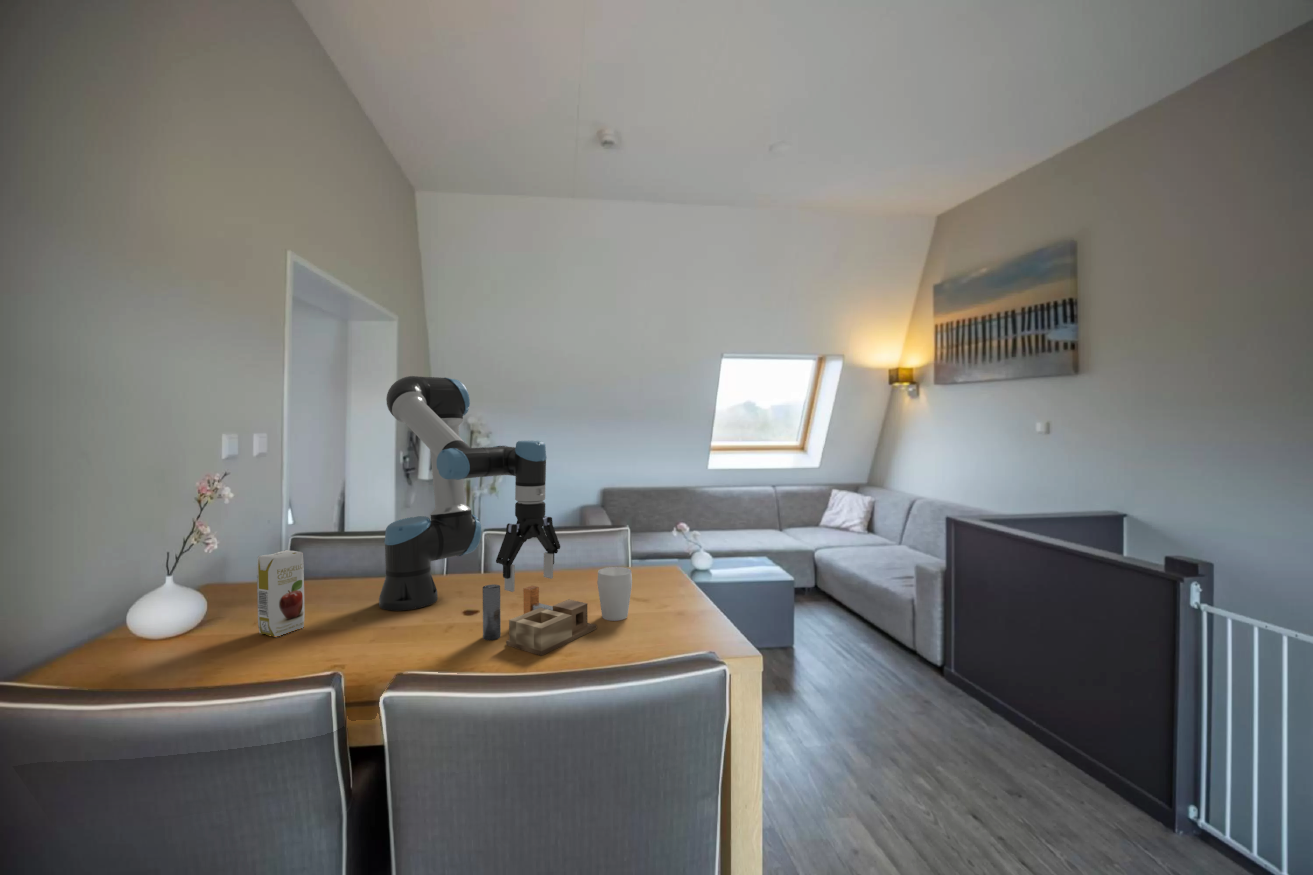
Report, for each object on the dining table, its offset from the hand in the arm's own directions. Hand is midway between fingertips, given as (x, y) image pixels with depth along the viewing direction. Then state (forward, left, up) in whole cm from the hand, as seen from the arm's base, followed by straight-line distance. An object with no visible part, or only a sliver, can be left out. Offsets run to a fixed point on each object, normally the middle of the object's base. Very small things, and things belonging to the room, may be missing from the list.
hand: (529, 583), depth 146 cm
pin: (+6, 0, -9) cm, 11 cm away
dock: (+13, -5, -9) cm, 17 cm away
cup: (+17, +14, -10) cm, 24 cm away
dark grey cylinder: (+1, -13, -9) cm, 16 cm away
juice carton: (-45, -38, -10) cm, 60 cm away
